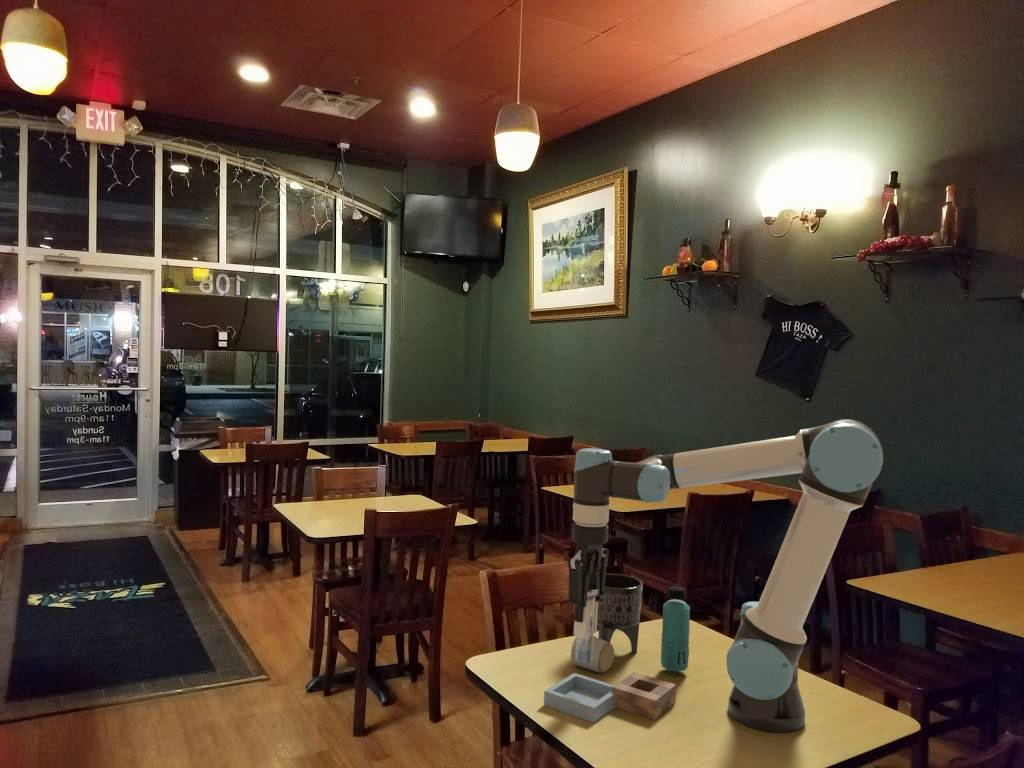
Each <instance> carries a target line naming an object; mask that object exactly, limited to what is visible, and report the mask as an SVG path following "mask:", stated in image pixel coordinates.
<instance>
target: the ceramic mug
mask: <svg viewBox="0 0 1024 768" xmlns="http://www.w3.org/2000/svg"><path fill="white" fill-rule="evenodd" d="M570 659H571V662H572V664H573V665H574V666H577V667H580V668H582V669H586V670H590V671H593V672H596V673H600V674H603V673H606V672H608V670H609V669H610V668H611V666H612V664H613V663H614V661H615V660H614V659H615V648H614V646H613V645H612V644H611V642H610V643H609V642H607V641H605V640H602V639H600V638H599V637H597V636H594V635H593V654H592V661H591V662H589V663H582V662H578V661H577V660H576V637H575V638H574V641H573V643H572V646H571V652H570Z"/></svg>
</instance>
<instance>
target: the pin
mask: <svg viewBox="0 0 1024 768" xmlns="http://www.w3.org/2000/svg"><path fill="white" fill-rule="evenodd" d="M597 595H598V589H597V588H594V587H590V586H588V592H587V600H586V606H588V619H587V637H586V638H582V637H578V636H576V637H575V638H576V660H577V661H578V662H582V663H589V662H591V661H592V654H593V636H594V633H593V632H594V610H595V596H597Z"/></svg>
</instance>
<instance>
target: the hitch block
mask: <svg viewBox="0 0 1024 768" xmlns="http://www.w3.org/2000/svg"><path fill="white" fill-rule="evenodd" d="M613 685H614V686H612V692H615V693H616V704H615V708H618V709H620V710H624V711H625V712H629V713H633V714H635V715H639V716H641V717H644V718H647V719H650V720H653V721H656V720H657V719H658V718H659V717H661V716H662V715H663V714H664V713H665V712H667V710H670V708H672V707H673V706H674V705H675V704H676V696H677V695H676V694H677V684H676V683H673V682H668V681H665V680H662V679H659V678H655V677H652V676H649V675H645V674H642V673H639V672H635V671H633V672H632V673H630V674H628V675H627V676H625V677H624V678H622V679H621V680H620V681H618V682H617V683H615V684H613Z"/></svg>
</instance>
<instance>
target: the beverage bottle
mask: <svg viewBox="0 0 1024 768" xmlns="http://www.w3.org/2000/svg"><path fill="white" fill-rule="evenodd" d="M686 592H687V590H686V588H685V587H682V586H678V585H677V586H676V585H673V586H669V587H668V592H667V597H669V598H670V600H668V601H666V602H665V603H663V605H662V627H661V628H662V629H661V630H662V631H661V641H660V642H661V643H660V644H661V648H660V664H661V666H662V668H664V669H665V670H668V671H673V672H683V671H686V670H688V667H689V662H690V661H689V656H690V647H689V646H690V634H691V633H690V631H691V630H690V627H691V621H690V617H691V616H690V611H691V607H690V605H689V604H687V603H686V602H685V601H684V600H685V599H686V598H687V595H686V594H687V593H686Z"/></svg>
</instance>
